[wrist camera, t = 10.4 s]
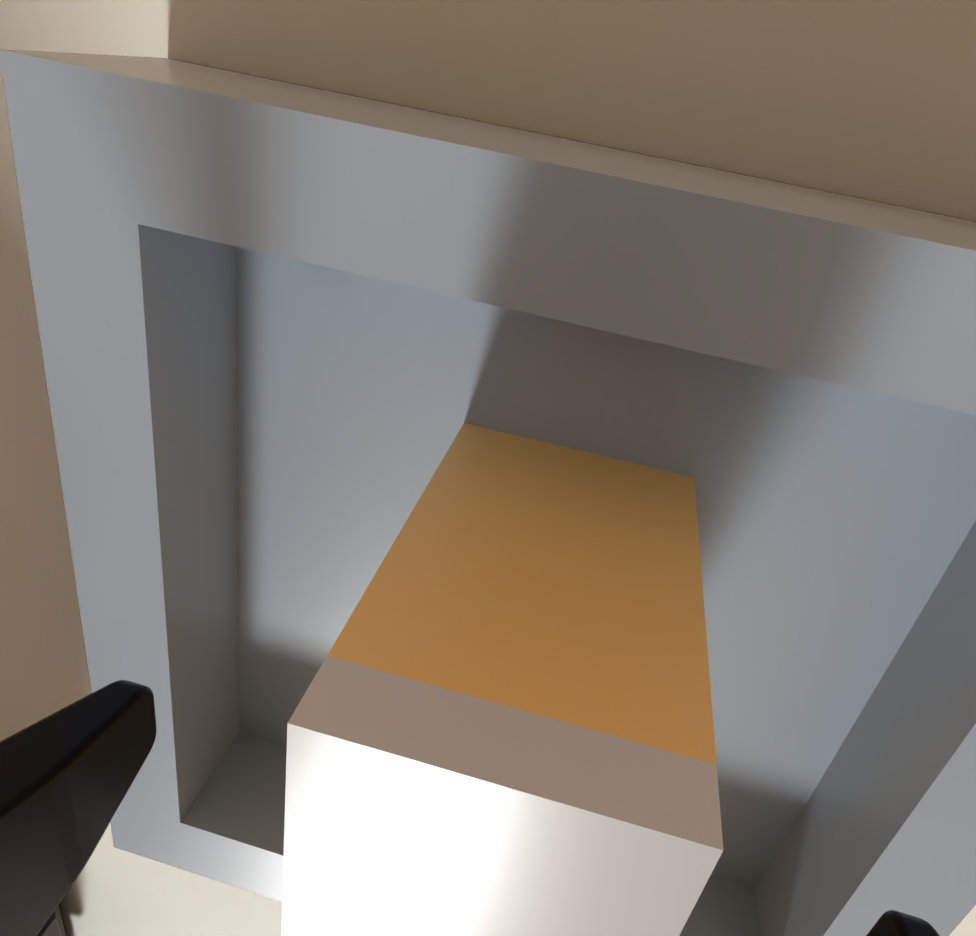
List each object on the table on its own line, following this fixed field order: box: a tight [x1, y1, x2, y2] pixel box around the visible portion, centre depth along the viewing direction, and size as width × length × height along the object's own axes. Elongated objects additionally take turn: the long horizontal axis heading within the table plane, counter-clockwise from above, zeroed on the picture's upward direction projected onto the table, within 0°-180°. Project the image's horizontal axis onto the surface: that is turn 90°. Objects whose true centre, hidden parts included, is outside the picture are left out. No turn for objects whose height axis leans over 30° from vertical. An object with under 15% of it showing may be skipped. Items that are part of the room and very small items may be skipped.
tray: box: [0, 50, 976, 936], centre depth 12 cm, size 14×14×3 cm
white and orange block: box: [281, 423, 723, 936], centre depth 10 cm, size 4×6×6 cm, turn 173°
